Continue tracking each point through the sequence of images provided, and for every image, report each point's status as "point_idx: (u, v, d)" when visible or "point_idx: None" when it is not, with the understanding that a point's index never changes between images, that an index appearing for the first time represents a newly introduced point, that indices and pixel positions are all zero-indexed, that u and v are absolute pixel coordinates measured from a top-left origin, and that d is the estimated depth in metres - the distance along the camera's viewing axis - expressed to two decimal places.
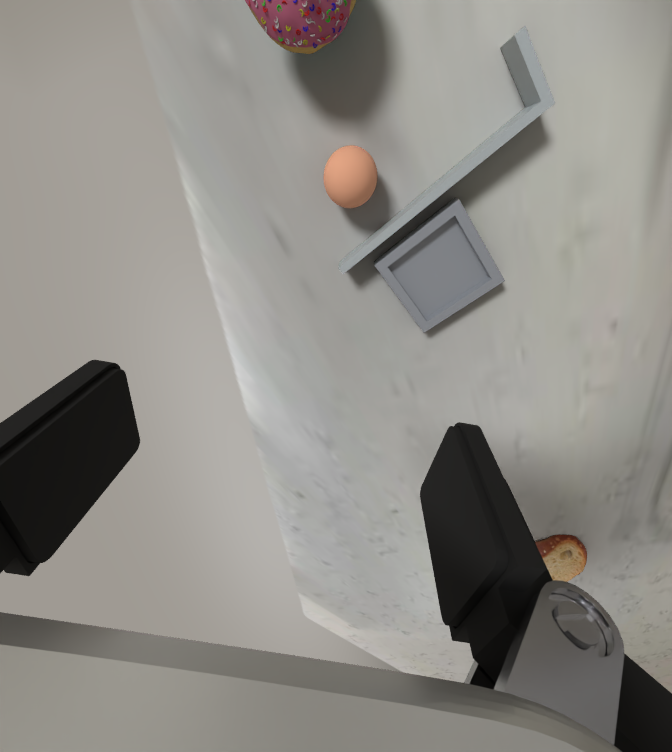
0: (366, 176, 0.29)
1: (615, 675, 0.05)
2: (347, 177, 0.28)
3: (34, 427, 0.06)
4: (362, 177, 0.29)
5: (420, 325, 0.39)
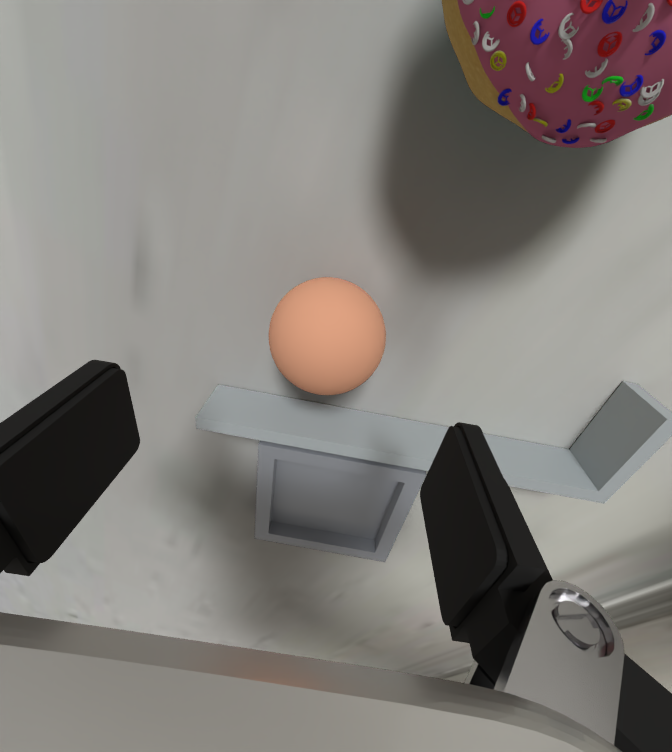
0: (350, 383, 0.13)
1: (615, 675, 0.05)
2: (319, 362, 0.12)
3: (34, 427, 0.06)
4: (342, 381, 0.13)
5: (257, 531, 0.24)
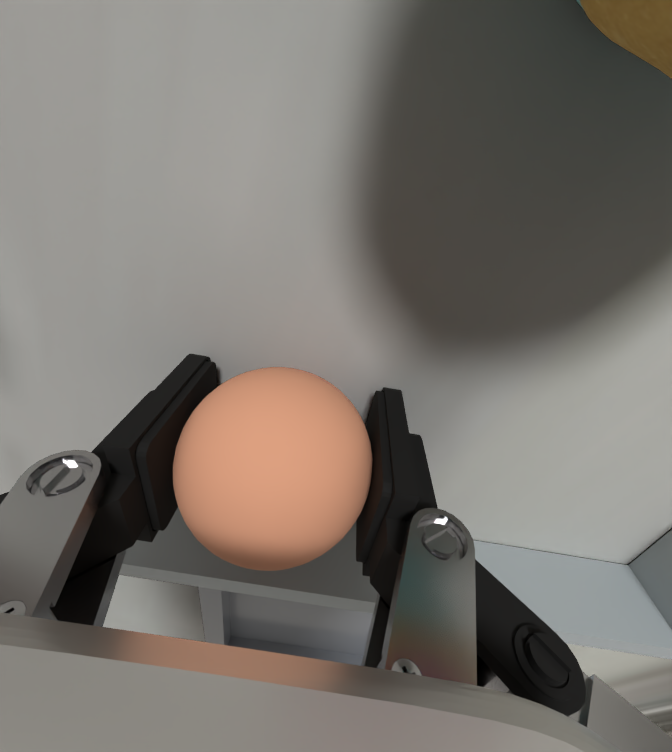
0: (311, 560, 0.07)
1: (471, 568, 0.06)
2: (248, 548, 0.06)
3: (165, 410, 0.07)
4: (295, 564, 0.07)
5: None
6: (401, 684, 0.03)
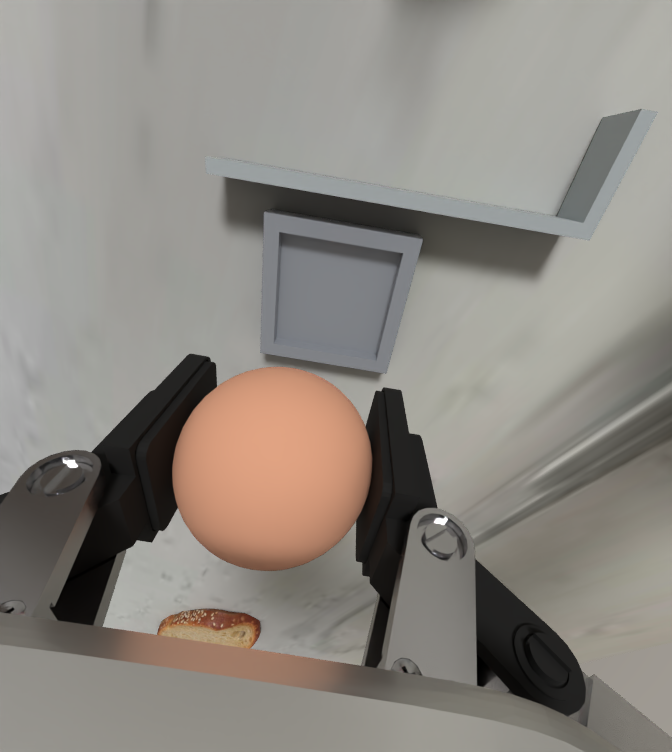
0: (311, 560, 0.07)
1: (471, 569, 0.06)
2: (248, 548, 0.06)
3: (165, 410, 0.07)
4: (295, 564, 0.07)
5: (262, 341, 0.25)
6: (401, 684, 0.03)
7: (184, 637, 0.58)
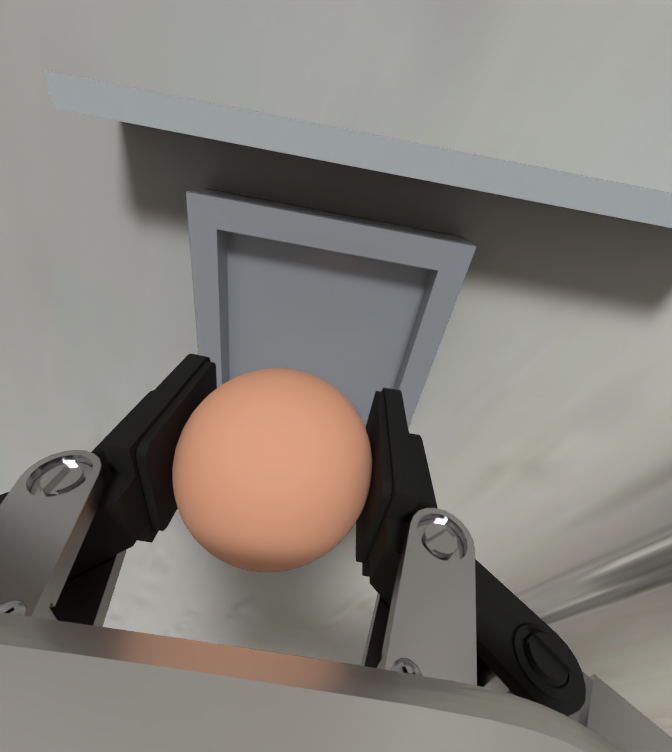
0: None
1: (471, 568, 0.06)
2: (248, 550, 0.06)
3: (165, 410, 0.07)
4: (295, 565, 0.07)
5: None
6: (401, 684, 0.03)
7: None
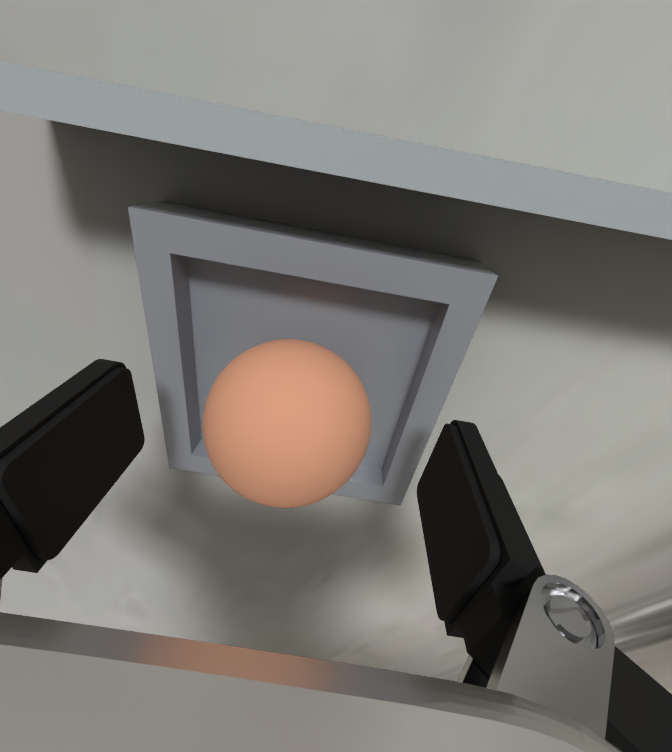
0: (319, 498, 0.09)
1: (605, 667, 0.05)
2: (268, 481, 0.08)
3: (42, 425, 0.07)
4: (306, 499, 0.09)
5: (171, 450, 0.13)
6: (401, 684, 0.03)
7: None
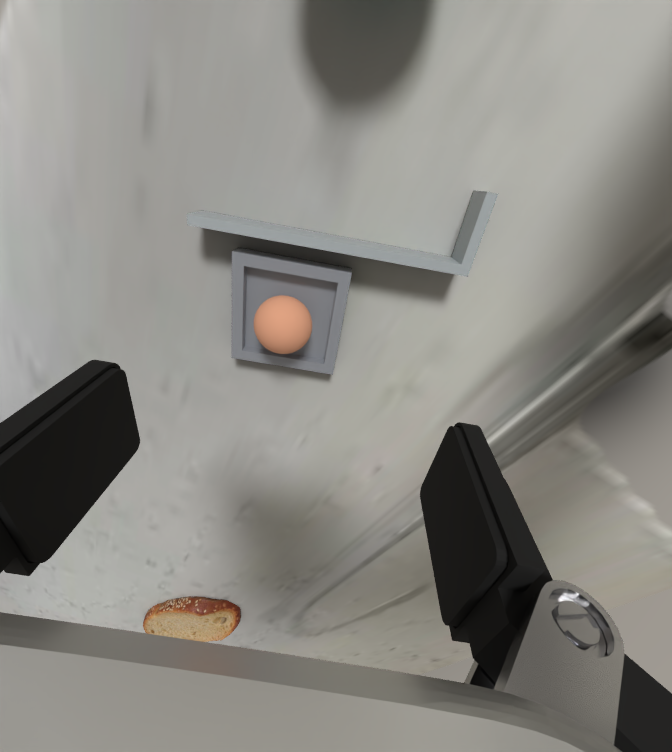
0: (292, 346, 0.27)
1: (614, 675, 0.05)
2: (276, 334, 0.26)
3: (34, 427, 0.06)
4: (288, 344, 0.27)
5: (233, 348, 0.31)
6: (401, 684, 0.03)
7: (169, 625, 0.63)
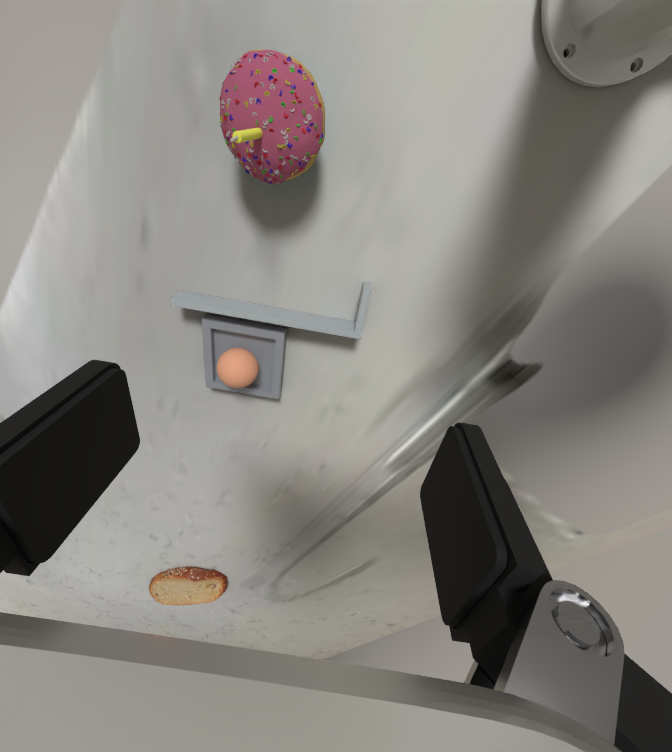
0: (241, 384, 0.40)
1: (614, 675, 0.05)
2: (229, 377, 0.39)
3: (34, 427, 0.06)
4: (238, 383, 0.39)
5: (206, 380, 0.44)
6: (401, 684, 0.03)
7: (169, 589, 0.77)
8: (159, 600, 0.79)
